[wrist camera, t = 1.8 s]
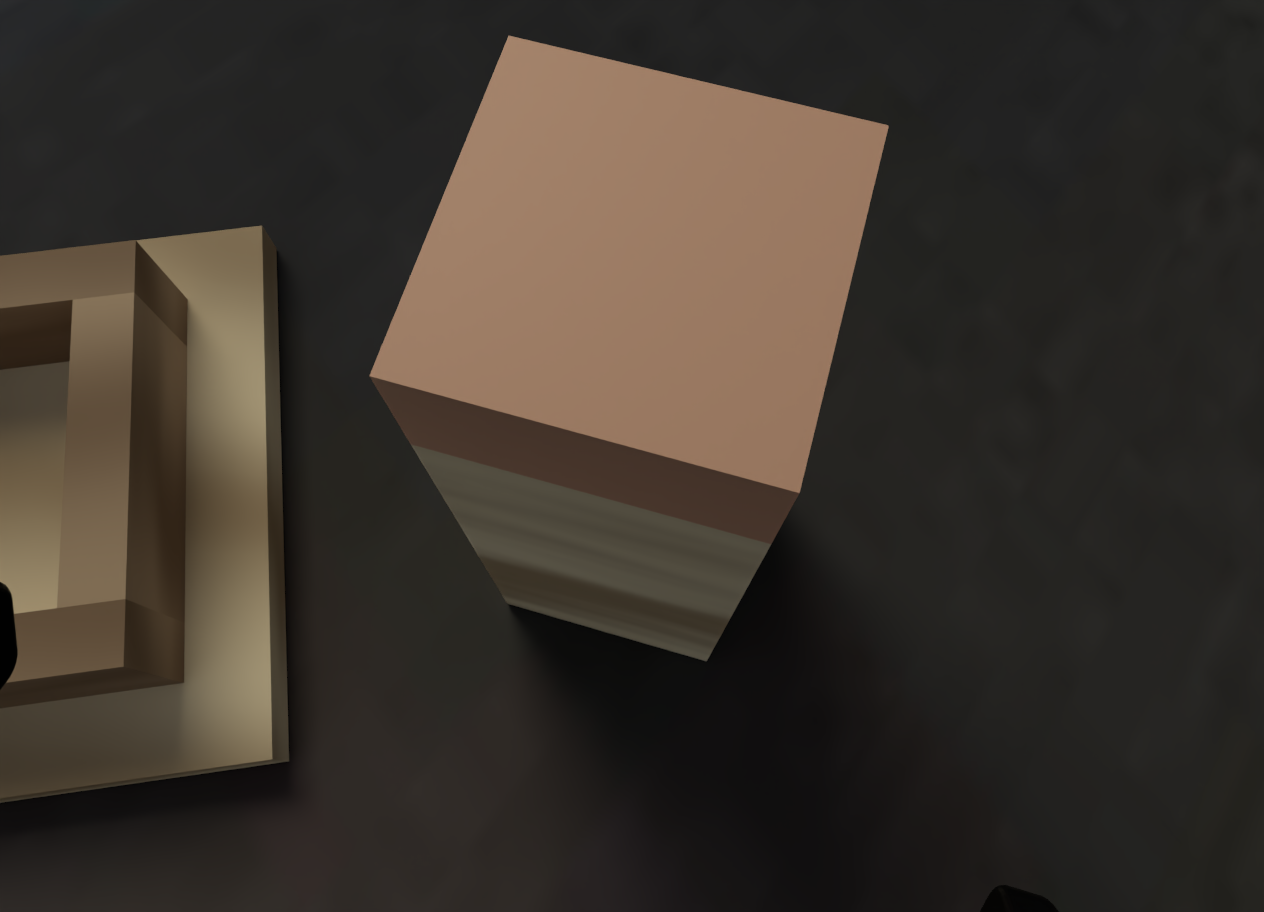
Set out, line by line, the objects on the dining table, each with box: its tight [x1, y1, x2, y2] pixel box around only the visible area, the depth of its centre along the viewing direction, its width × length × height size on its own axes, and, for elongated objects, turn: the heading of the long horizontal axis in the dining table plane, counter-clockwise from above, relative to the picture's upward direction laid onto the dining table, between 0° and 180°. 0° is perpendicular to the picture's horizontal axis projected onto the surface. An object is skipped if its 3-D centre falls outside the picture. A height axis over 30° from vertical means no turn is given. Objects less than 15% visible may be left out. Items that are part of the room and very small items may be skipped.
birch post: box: [370, 36, 888, 661], centre depth 16 cm, size 4×4×12 cm
